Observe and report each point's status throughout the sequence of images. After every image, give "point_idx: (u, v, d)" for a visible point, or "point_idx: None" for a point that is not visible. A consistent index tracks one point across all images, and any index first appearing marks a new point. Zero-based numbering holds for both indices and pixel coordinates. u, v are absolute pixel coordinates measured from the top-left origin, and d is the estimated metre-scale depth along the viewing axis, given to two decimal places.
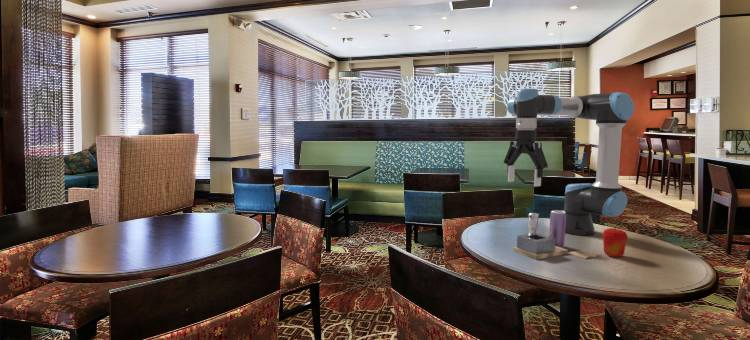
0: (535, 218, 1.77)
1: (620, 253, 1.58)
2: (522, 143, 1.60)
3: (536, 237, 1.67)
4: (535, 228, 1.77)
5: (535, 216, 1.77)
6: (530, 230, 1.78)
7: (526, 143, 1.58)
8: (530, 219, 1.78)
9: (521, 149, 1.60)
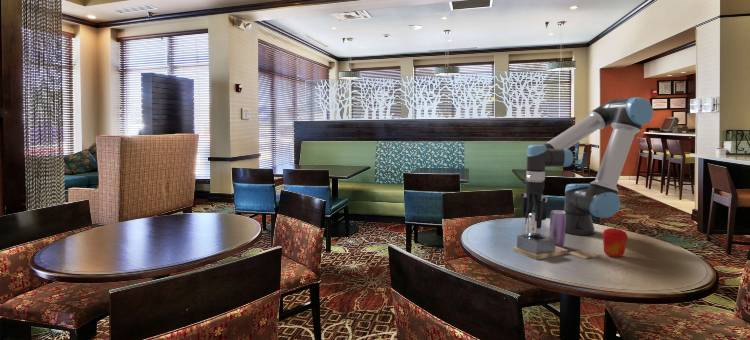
0: (535, 218, 1.77)
1: (620, 253, 1.58)
2: (531, 190, 1.78)
3: (536, 237, 1.67)
4: None
5: (535, 216, 1.77)
6: (530, 230, 1.78)
7: (536, 192, 1.75)
8: (530, 219, 1.78)
9: (531, 198, 1.78)
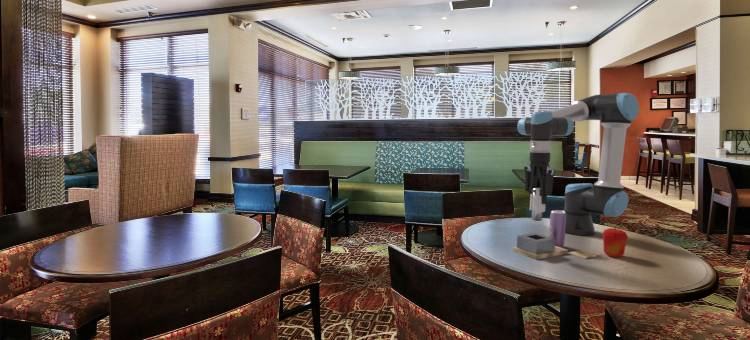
0: (540, 193, 1.60)
1: (620, 253, 1.58)
2: (535, 162, 1.61)
3: (536, 237, 1.67)
4: None
5: (540, 191, 1.60)
6: (534, 207, 1.61)
7: (541, 164, 1.58)
8: (534, 194, 1.61)
9: (535, 171, 1.61)
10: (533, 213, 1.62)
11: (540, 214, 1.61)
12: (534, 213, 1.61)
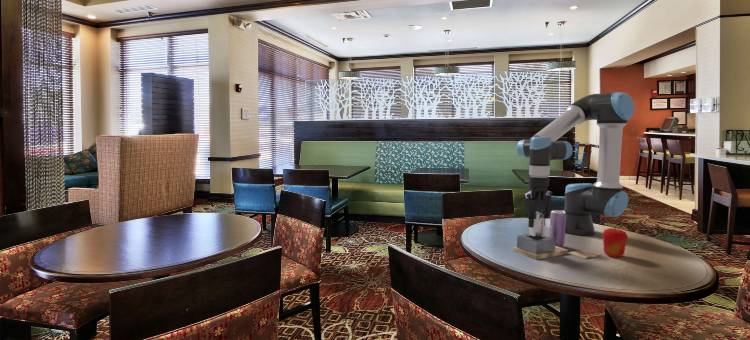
0: None
1: (620, 253, 1.58)
2: None
3: None
4: None
5: None
6: None
7: None
8: None
9: None
10: None
11: (532, 237, 1.63)
12: None
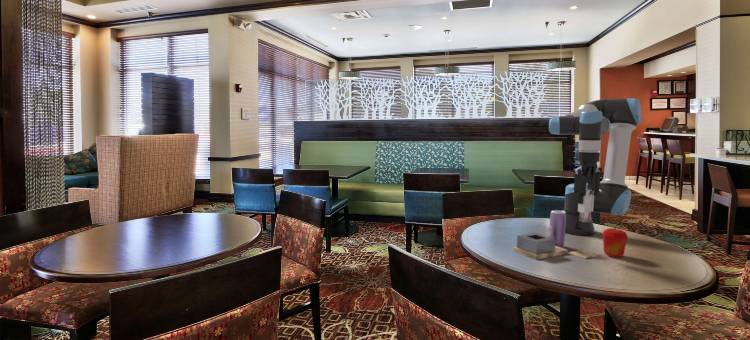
0: None
1: (620, 253, 1.58)
2: None
3: (536, 237, 1.67)
4: None
5: None
6: None
7: None
8: None
9: None
10: None
11: (581, 215, 1.59)
12: None
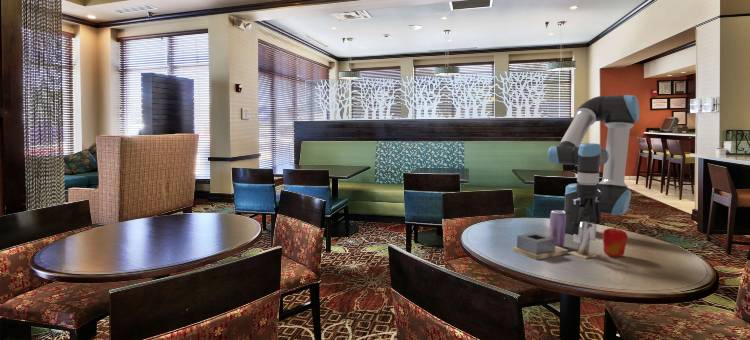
0: None
1: (620, 253, 1.58)
2: None
3: (536, 237, 1.67)
4: None
5: (580, 224, 1.61)
6: None
7: None
8: None
9: None
10: None
11: (580, 247, 1.61)
12: None
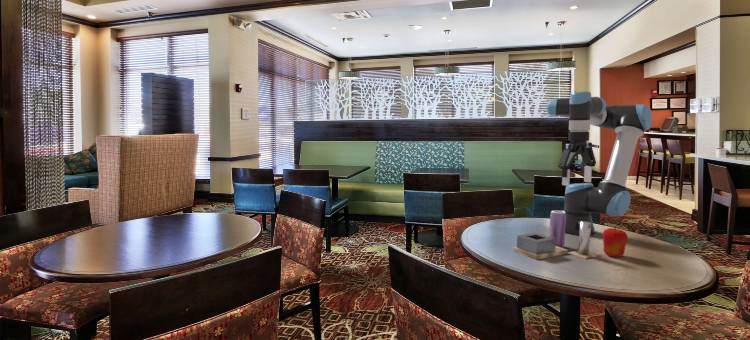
0: (580, 226, 1.60)
1: (620, 253, 1.58)
2: None
3: (536, 237, 1.67)
4: (580, 237, 1.61)
5: (580, 224, 1.60)
6: None
7: None
8: None
9: None
10: None
11: (580, 247, 1.61)
12: None
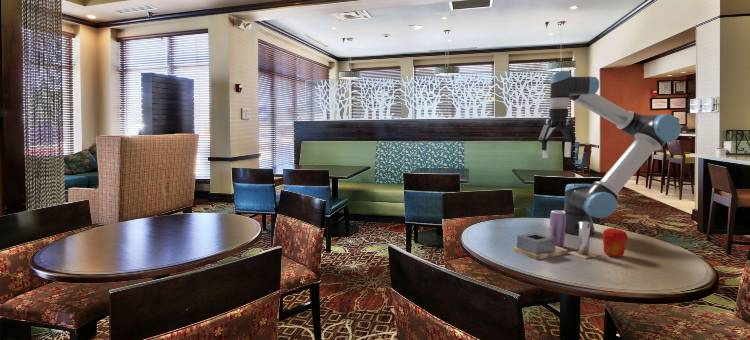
0: (580, 226, 1.61)
1: (620, 253, 1.58)
2: None
3: (536, 237, 1.67)
4: (579, 237, 1.61)
5: (580, 224, 1.61)
6: None
7: None
8: None
9: None
10: None
11: (580, 247, 1.61)
12: None
